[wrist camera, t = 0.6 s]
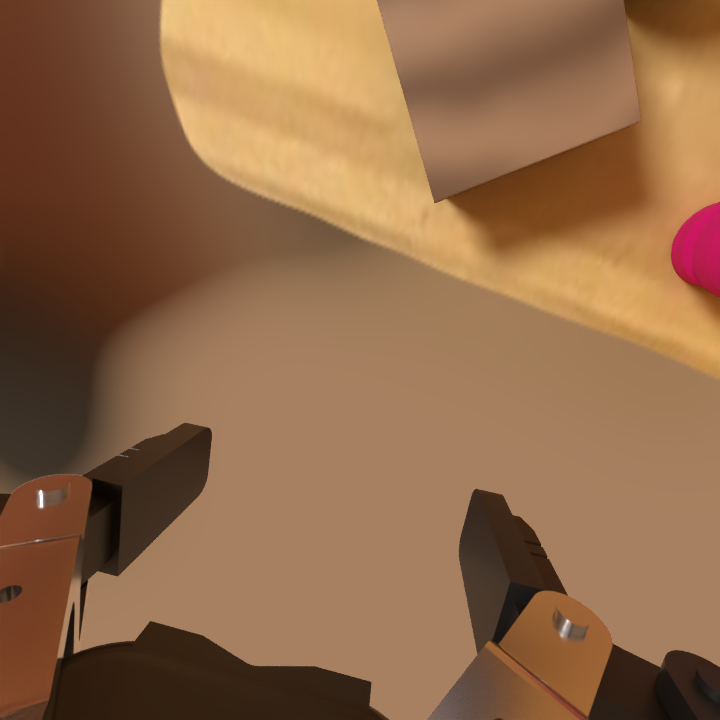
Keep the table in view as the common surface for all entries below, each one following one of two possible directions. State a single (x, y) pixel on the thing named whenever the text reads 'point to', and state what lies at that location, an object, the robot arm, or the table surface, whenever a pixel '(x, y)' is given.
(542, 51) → the brown legged piece
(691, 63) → the table surface
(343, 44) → the table surface
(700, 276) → the pepper mill
